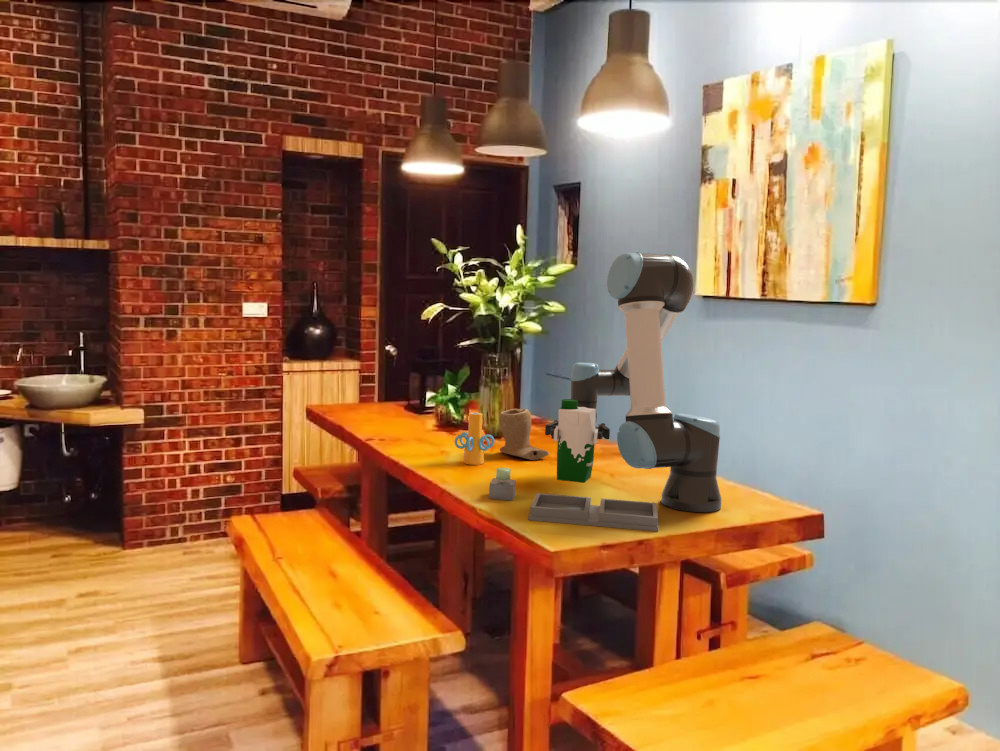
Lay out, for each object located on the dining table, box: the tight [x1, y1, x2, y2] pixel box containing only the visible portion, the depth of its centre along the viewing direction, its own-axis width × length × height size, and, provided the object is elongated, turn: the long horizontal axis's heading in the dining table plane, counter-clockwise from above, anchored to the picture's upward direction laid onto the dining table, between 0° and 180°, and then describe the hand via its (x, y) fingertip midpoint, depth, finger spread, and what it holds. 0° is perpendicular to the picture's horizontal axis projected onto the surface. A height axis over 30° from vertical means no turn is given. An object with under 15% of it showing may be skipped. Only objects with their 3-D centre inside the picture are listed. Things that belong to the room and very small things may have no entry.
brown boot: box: [498, 408, 550, 461], centre depth 275 cm, size 15×12×15 cm
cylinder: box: [454, 411, 495, 466], centre depth 263 cm, size 12×10×15 cm
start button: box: [495, 467, 512, 480], centre depth 225 cm, size 4×4×2 cm
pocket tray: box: [528, 492, 659, 532], centre depth 211 cm, size 30×14×3 cm, turn 81°
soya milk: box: [556, 398, 597, 484], centre depth 223 cm, size 9×9×20 cm
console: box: [488, 477, 517, 502], centre depth 226 cm, size 6×6×4 cm
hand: (575, 437), depth 218 cm, fingers closed on soya milk, 9 cm apart
